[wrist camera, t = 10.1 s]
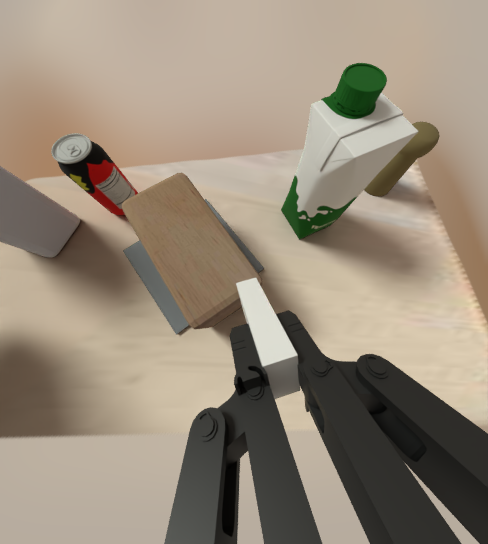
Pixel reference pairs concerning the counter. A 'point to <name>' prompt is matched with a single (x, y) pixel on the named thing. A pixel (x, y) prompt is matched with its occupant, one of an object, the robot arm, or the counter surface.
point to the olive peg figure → (404, 159)
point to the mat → (157, 285)
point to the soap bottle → (32, 218)
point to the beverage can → (93, 171)
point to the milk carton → (344, 148)
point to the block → (190, 250)
